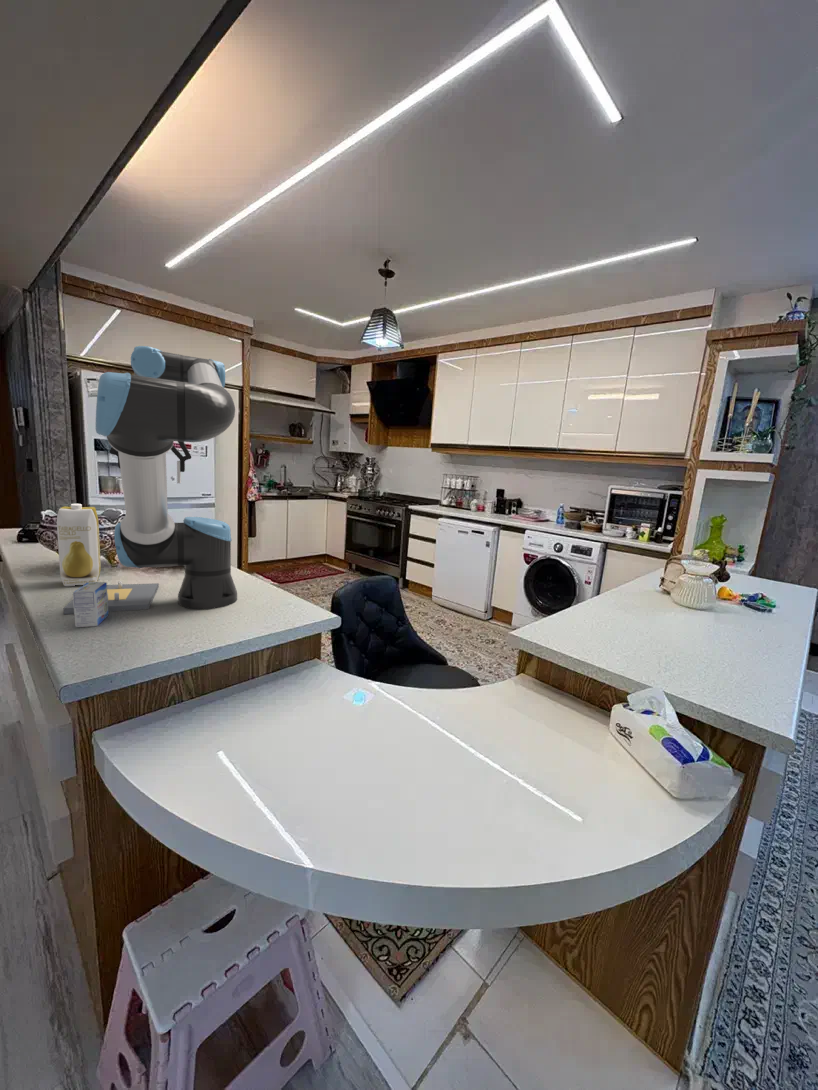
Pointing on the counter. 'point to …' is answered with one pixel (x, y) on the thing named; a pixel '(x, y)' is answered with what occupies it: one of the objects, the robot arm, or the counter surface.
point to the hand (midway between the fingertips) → (152, 481)
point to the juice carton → (78, 544)
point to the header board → (125, 597)
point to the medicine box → (90, 604)
